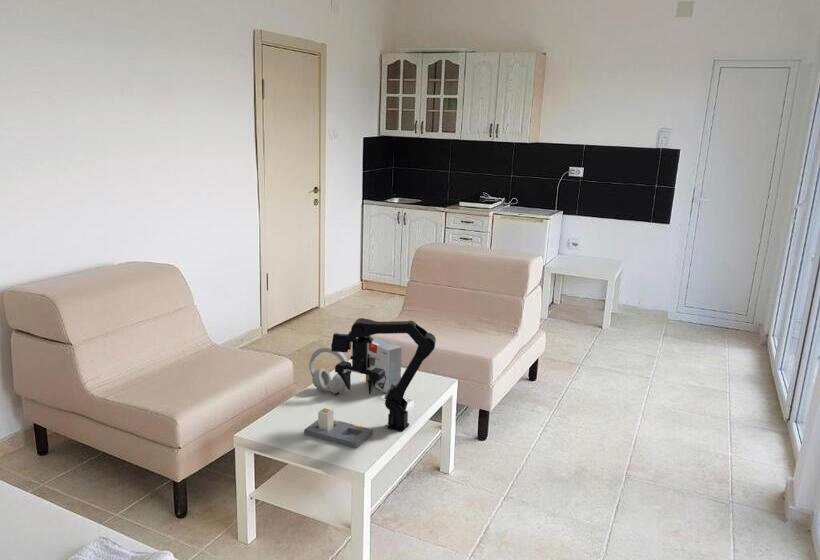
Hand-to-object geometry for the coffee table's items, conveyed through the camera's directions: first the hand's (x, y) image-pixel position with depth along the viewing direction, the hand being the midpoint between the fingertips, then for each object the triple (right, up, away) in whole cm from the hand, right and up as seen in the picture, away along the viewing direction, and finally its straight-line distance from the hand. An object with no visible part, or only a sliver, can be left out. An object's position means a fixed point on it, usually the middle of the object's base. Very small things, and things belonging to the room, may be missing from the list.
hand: (359, 392), depth 241 cm
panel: (-7, -15, -6) cm, 17 cm away
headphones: (-15, -6, +31) cm, 35 cm away
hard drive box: (+7, -5, +39) cm, 39 cm away
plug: (-12, -14, -3) cm, 19 cm away
